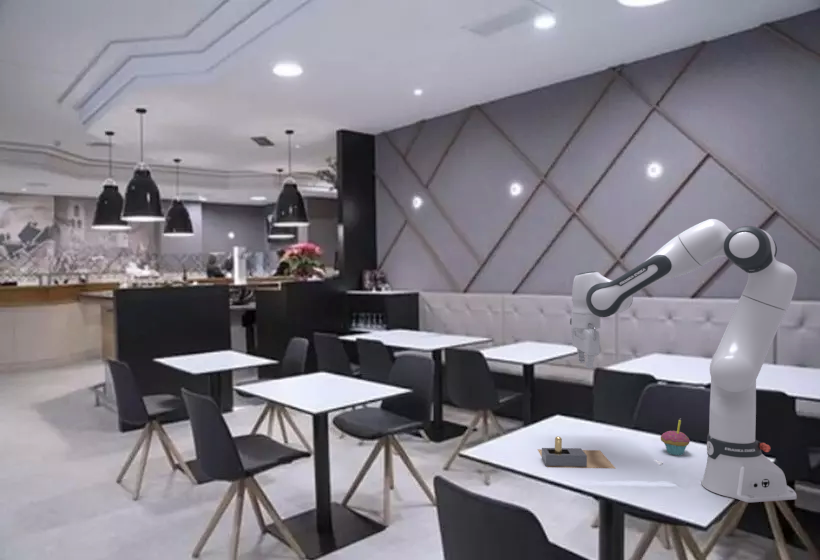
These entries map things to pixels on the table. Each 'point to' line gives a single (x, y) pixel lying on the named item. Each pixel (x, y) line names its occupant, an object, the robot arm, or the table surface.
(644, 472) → the table surface
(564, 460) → the steel link
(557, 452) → the post
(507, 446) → the table surface
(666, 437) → the cupcake
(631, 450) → the table surface
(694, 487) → the table surface
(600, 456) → the oak board
